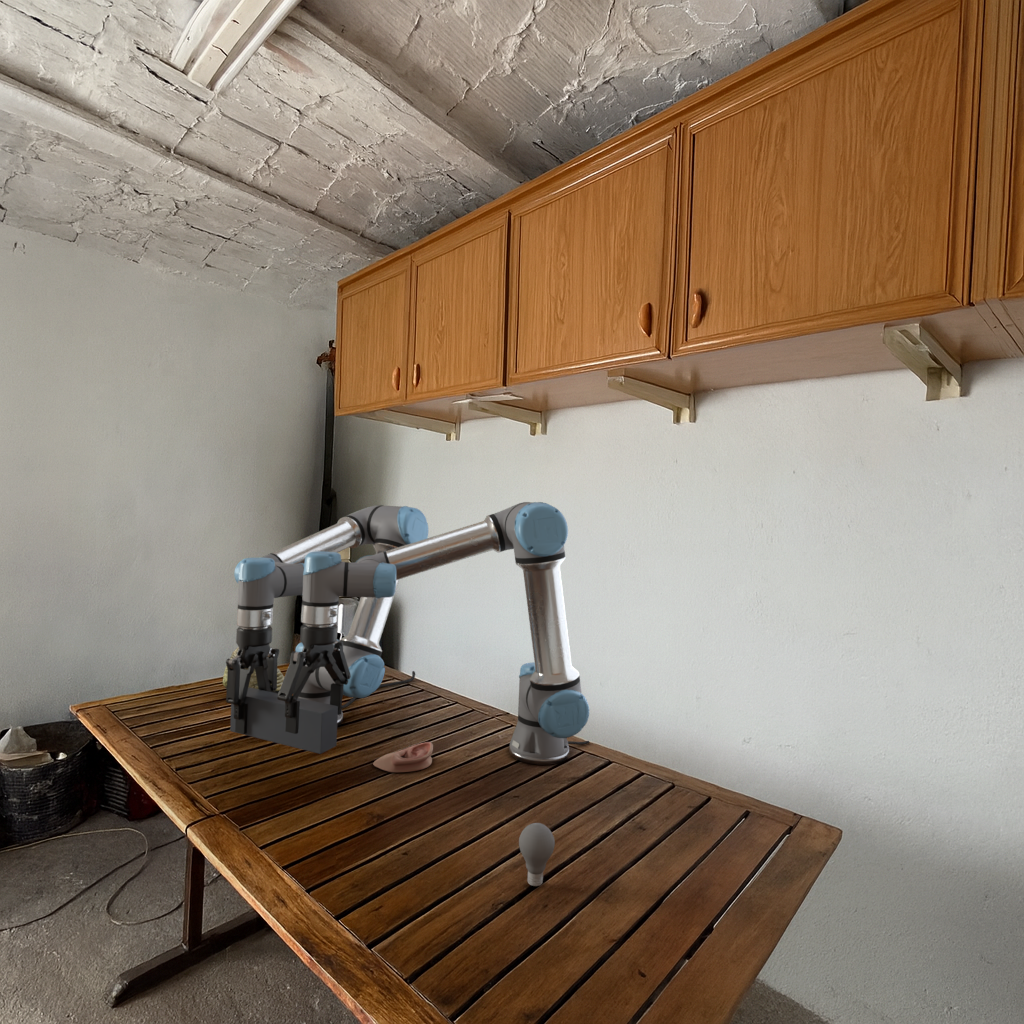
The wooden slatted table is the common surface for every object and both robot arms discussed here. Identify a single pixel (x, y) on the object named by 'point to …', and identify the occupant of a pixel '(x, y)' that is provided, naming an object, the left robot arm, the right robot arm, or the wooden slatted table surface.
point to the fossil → (254, 677)
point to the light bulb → (536, 850)
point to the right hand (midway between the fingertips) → (314, 722)
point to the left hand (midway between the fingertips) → (251, 728)
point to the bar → (271, 722)
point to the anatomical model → (407, 759)
